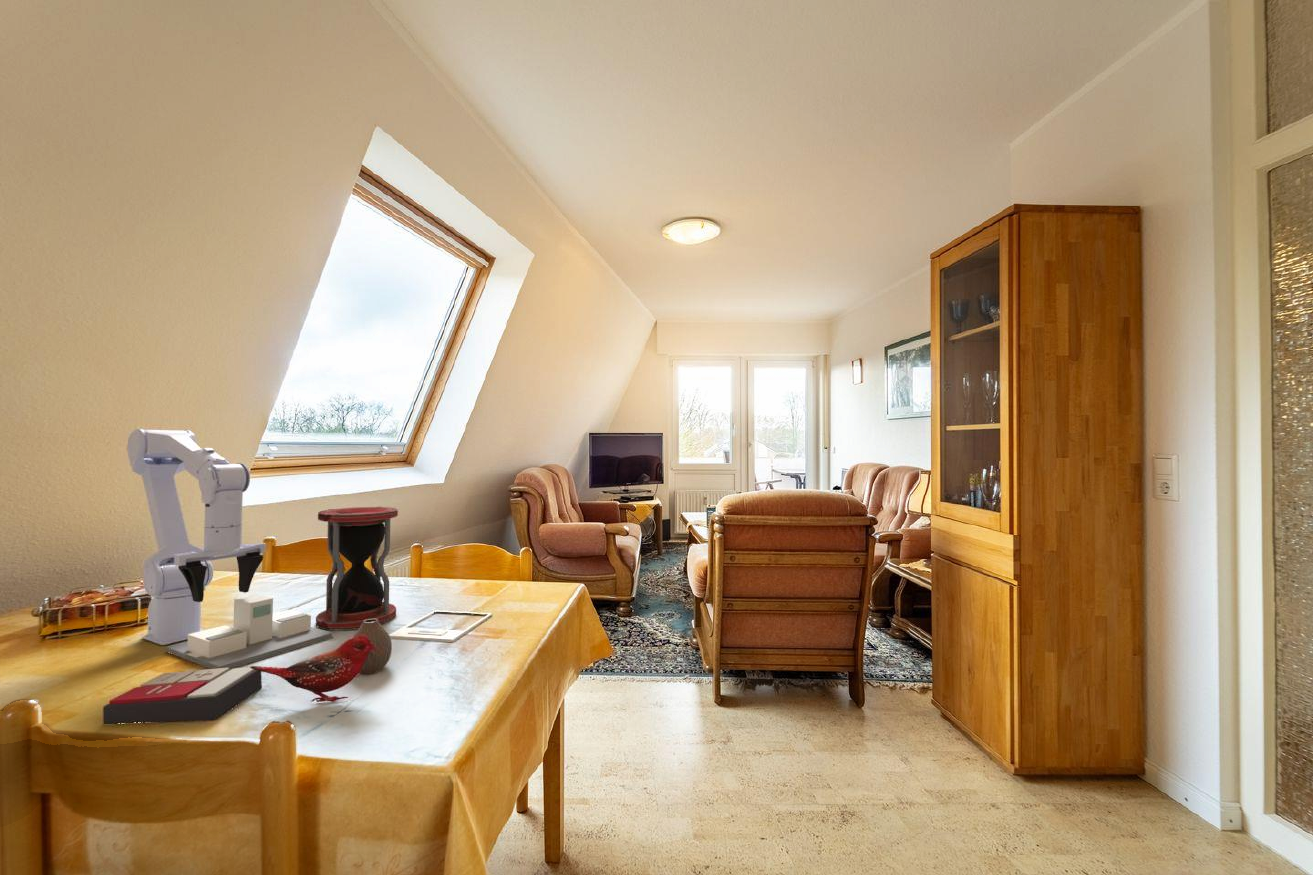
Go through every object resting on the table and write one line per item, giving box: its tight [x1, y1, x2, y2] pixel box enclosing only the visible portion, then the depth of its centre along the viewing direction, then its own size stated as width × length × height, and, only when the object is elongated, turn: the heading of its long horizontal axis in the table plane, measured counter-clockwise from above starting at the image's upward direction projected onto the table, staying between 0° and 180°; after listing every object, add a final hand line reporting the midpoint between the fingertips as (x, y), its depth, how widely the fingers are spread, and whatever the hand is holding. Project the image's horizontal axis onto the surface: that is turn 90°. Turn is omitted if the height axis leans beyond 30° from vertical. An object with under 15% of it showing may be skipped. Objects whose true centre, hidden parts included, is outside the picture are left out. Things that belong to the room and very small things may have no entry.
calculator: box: [102, 666, 263, 725], centre depth 83 cm, size 11×4×15 cm
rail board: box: [165, 609, 334, 670], centre depth 109 cm, size 20×20×4 cm
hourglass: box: [315, 506, 399, 631], centre depth 125 cm, size 16×16×25 cm
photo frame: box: [388, 609, 493, 643], centre depth 121 cm, size 15×1×18 cm
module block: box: [233, 594, 274, 645], centre depth 109 cm, size 6×4×8 cm, turn 62°
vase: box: [352, 619, 392, 676], centre depth 96 cm, size 7×7×9 cm
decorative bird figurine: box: [249, 635, 377, 703], centre depth 84 cm, size 3×18×10 cm, turn 102°
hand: (221, 596), depth 106 cm, fingers open, 7 cm apart
